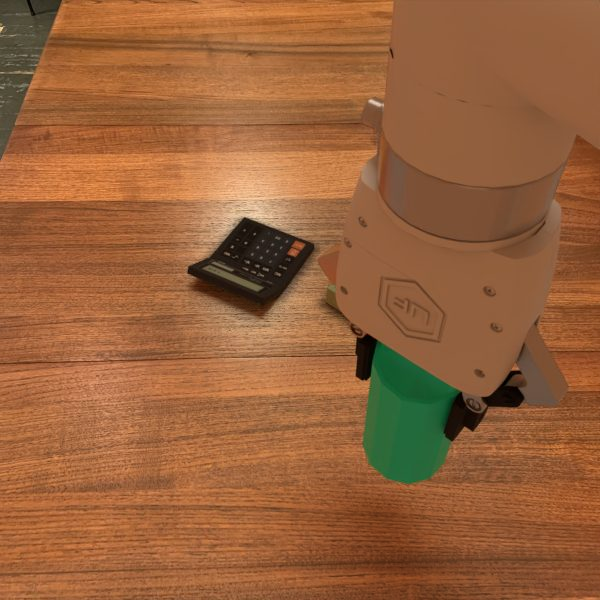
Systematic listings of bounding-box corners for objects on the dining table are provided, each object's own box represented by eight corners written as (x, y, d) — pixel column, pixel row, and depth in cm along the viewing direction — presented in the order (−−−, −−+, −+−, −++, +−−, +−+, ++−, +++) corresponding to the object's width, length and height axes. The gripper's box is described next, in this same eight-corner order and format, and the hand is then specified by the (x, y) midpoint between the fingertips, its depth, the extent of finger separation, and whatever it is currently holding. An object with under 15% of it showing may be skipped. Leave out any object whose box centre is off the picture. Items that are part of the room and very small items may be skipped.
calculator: (314, 249, 76) (314, 230, 73) (263, 319, 69) (262, 301, 67) (244, 222, 78) (243, 203, 76) (189, 287, 72) (186, 268, 70)
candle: (464, 458, 46) (502, 359, 37) (394, 499, 44) (415, 406, 35) (413, 395, 49) (436, 290, 40) (346, 431, 48) (354, 330, 38)
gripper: (258, 129, 30) (275, 359, 43) (629, 320, 22) (508, 524, 36) (358, 61, 33) (345, 293, 47) (706, 206, 26) (569, 431, 40)
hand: (416, 391), depth 41 cm, fingers closed on candle, 5 cm apart
